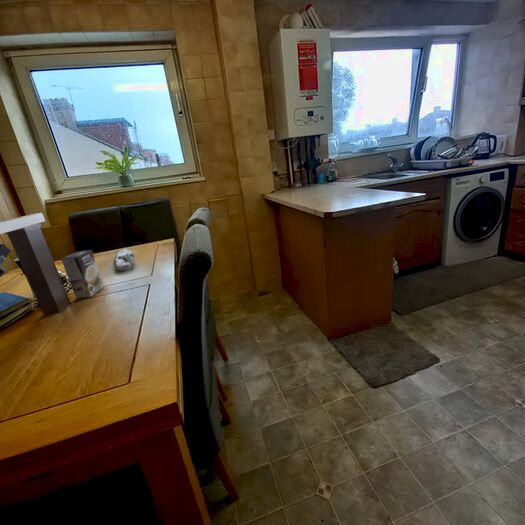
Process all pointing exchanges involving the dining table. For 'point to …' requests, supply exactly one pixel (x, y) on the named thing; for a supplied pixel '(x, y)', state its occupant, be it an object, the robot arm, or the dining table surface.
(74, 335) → the dining table surface
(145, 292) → the dining table surface
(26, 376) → the dining table surface
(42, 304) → the walnut post
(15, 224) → the switch bar
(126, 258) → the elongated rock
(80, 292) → the coffee box
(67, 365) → the dining table surface
